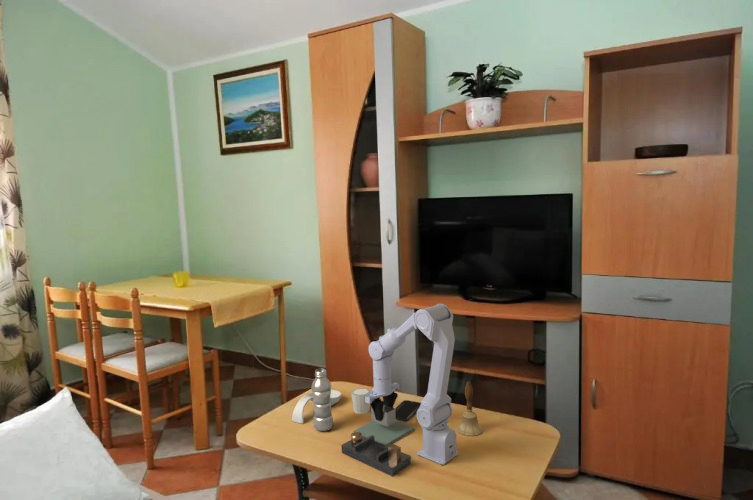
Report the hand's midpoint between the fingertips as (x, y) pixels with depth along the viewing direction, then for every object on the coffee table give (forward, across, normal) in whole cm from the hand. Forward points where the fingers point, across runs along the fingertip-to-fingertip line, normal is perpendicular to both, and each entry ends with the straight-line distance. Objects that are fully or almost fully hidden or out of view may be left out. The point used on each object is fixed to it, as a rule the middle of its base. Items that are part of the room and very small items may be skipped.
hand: (383, 417), depth 160 cm
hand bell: (+5, -18, +21) cm, 28 cm away
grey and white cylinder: (+5, -7, -17) cm, 19 cm away
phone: (+5, -16, -4) cm, 17 cm away
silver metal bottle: (+5, +11, -17) cm, 21 cm away
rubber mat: (+5, 0, 0) cm, 5 cm away
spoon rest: (+5, +2, -30) cm, 31 cm away
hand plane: (+5, +14, +9) cm, 17 cm away
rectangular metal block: (+1, 0, 0) cm, 1 cm away
